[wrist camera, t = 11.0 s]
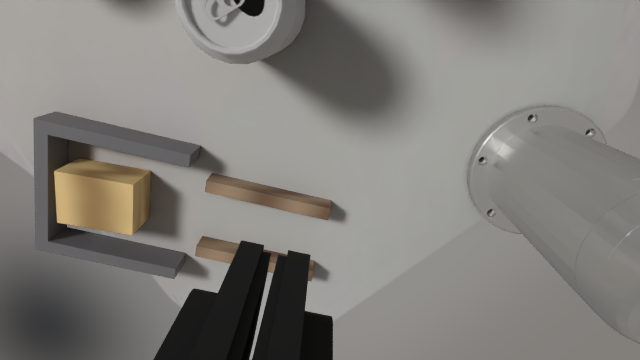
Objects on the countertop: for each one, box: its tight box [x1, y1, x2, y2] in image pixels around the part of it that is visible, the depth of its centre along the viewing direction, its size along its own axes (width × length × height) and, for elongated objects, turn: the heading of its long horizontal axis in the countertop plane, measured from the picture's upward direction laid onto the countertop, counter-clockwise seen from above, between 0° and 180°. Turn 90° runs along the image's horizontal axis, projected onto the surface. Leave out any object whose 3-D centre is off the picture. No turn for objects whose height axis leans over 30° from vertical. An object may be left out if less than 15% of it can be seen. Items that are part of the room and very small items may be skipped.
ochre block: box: [54, 158, 151, 235], centre depth 39 cm, size 7×5×4 cm
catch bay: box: [34, 112, 200, 279], centre depth 39 cm, size 14×13×3 cm
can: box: [175, 0, 305, 64], centre depth 28 cm, size 8×8×12 cm
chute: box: [195, 173, 331, 281], centre depth 40 cm, size 12×8×2 cm
